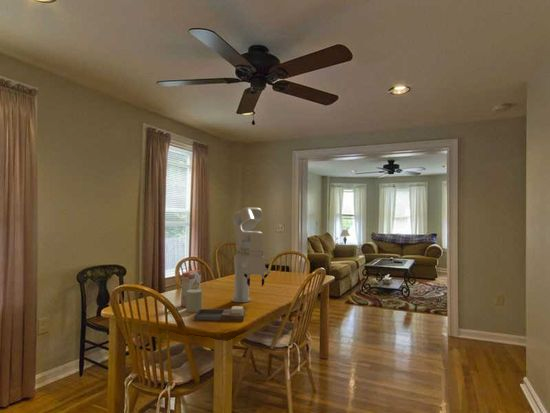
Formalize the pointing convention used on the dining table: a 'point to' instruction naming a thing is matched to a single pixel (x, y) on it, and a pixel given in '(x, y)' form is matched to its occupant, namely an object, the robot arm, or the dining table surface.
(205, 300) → the dining table surface
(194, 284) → the cracker box
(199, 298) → the can
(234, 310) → the tile
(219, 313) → the box
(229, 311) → the brown sliding lid
